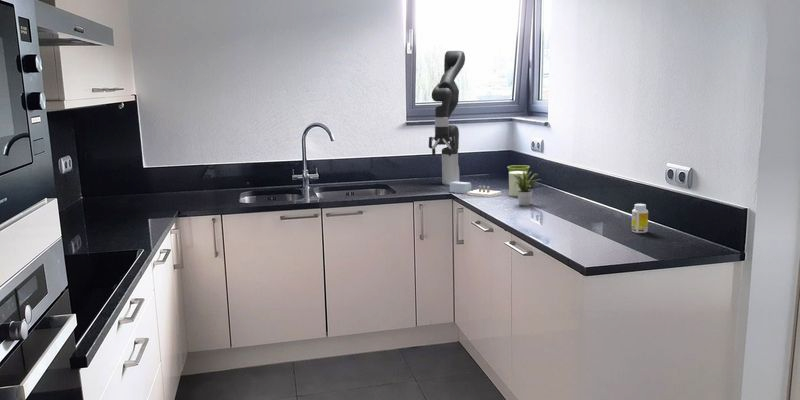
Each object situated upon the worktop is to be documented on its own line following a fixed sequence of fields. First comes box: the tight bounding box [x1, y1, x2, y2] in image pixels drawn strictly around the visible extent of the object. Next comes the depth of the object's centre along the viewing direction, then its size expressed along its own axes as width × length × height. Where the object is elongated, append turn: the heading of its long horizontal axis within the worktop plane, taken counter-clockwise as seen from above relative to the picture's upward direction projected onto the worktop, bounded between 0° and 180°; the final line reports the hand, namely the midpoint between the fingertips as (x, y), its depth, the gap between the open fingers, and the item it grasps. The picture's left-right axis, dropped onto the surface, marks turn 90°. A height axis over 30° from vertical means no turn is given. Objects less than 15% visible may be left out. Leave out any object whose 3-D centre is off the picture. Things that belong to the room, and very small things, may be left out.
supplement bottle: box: [631, 203, 649, 234], centre depth 232 cm, size 6×6×10 cm
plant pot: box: [506, 164, 530, 174], centre depth 339 cm, size 12×12×11 cm
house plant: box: [513, 170, 543, 206], centre depth 290 cm, size 14×14×16 cm
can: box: [508, 171, 528, 198], centre depth 317 cm, size 9×9×12 cm
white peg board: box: [466, 185, 502, 198], centre depth 321 cm, size 10×14×4 cm
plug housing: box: [449, 181, 472, 195], centre depth 331 cm, size 5×10×5 cm, turn 48°
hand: (442, 156), depth 341 cm, fingers open, 8 cm apart
